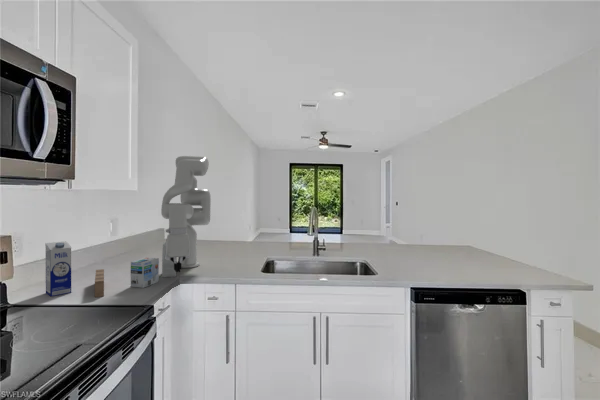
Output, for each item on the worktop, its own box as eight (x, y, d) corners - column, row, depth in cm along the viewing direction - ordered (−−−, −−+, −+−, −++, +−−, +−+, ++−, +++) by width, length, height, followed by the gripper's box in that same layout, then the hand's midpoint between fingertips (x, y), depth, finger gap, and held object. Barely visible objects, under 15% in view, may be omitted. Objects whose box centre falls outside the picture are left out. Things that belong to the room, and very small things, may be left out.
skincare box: (162, 273, 166) (162, 242, 166) (176, 272, 168) (176, 241, 168) (161, 277, 158) (161, 244, 158) (176, 276, 161) (176, 244, 160)
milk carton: (66, 289, 138) (66, 240, 138) (71, 292, 134) (71, 242, 133) (45, 293, 132) (44, 242, 132) (50, 296, 128) (50, 244, 128)
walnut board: (96, 283, 147) (96, 269, 147) (103, 282, 149) (103, 269, 149) (94, 297, 128) (94, 281, 128) (103, 296, 130) (103, 280, 130)
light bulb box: (143, 288, 141) (143, 262, 141) (129, 287, 142) (129, 261, 142) (159, 281, 152) (159, 257, 151) (146, 280, 153) (146, 257, 153)
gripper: (161, 233, 146) (161, 275, 147) (196, 231, 154) (196, 271, 154) (158, 231, 153) (158, 271, 153) (192, 229, 160) (192, 268, 161)
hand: (177, 271), depth 154 cm, fingers closed
